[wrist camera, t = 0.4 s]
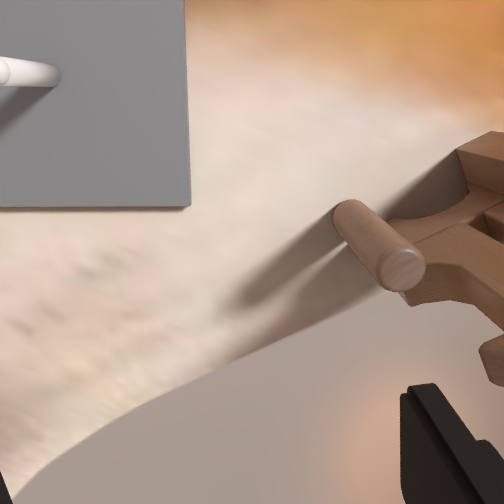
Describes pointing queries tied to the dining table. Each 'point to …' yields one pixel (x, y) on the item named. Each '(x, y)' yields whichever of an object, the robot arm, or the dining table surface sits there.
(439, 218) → the wooden toy
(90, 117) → the grey peg base
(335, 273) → the dining table surface
